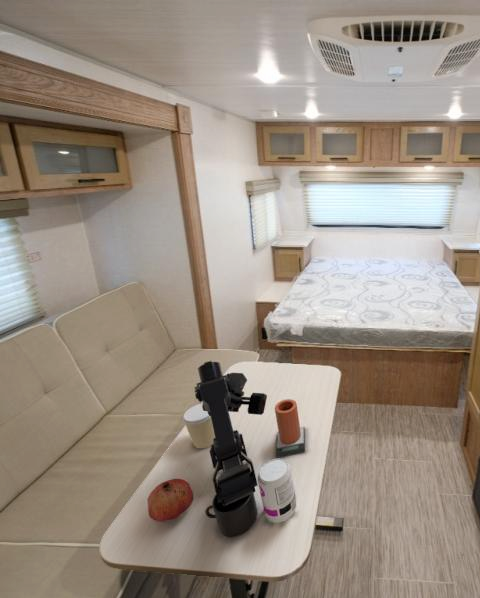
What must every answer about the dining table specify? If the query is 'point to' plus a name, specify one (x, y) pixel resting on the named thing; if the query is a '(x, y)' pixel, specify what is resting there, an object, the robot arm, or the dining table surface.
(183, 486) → the fruit
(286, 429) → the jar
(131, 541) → the dining table surface
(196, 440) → the coffee cup
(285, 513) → the supplement can
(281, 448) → the scale
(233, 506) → the mug
